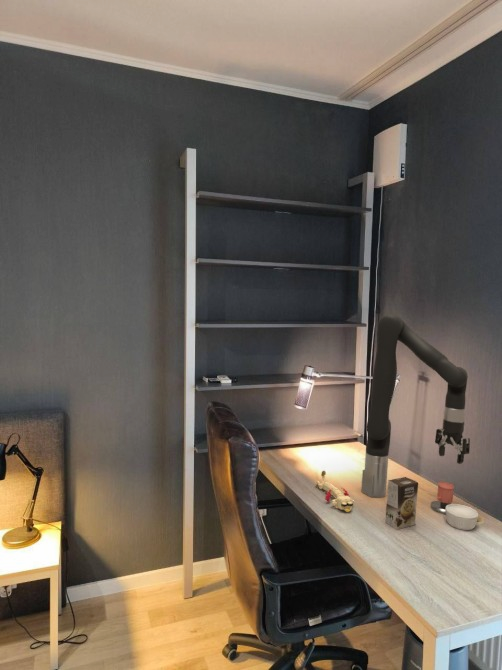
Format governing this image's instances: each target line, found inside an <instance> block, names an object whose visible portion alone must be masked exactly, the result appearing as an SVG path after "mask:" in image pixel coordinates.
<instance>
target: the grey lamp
mask: <svg viewBox="0 0 502 670" xmlns="http://www.w3.org/2000/svg"><path fill="white" fill-rule="evenodd" d="M449 504H453V502H452V503H442V502H440V501H438V500H433V501H431V502H430V508H431V510H432V511H434V512H436V513H438V514H441V515H446V510H445V508H446V506H447V505H449Z"/></svg>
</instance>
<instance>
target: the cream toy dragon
mask: <svg viewBox="0 0 502 670" xmlns="http://www.w3.org/2000/svg"><path fill="white" fill-rule="evenodd" d="M320 475H321V479H322V481H321V482H320V480H317V481H316V484H315V487H316V488H317V487H319V488H318V489H320V490H322V489H323V490H324V491H326V495H325V496H324V497H325V500H326V502H328V503H329V502H331V505H332V506H334V507H335V508H336V509H339V510H343V511H345V512H346V513H350V511H352V508H353V506H354V504H355V500H354V499H353V498H352V497H351V495H350V494H349V493H348V490H346V489H345V488H343V487H341V489H342V491H344V492H342V491H341V490H340V489H339V488H338V487H336V486H335V485H333V484H332V483H331V482H329V481H328V480H327V478H326V470H322V471H321V473H320ZM332 496H333V497H334V498H335V499H332V500H331V499H330V498H331V497H332Z"/></svg>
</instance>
